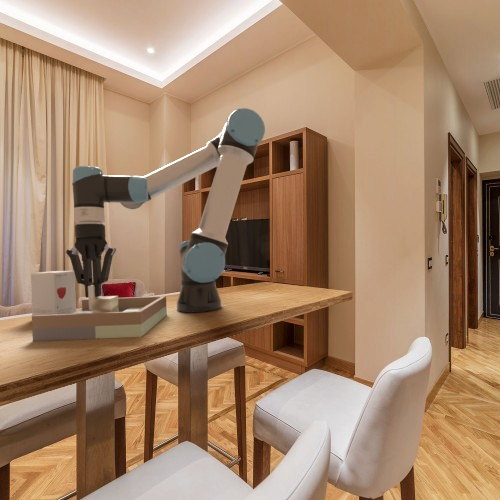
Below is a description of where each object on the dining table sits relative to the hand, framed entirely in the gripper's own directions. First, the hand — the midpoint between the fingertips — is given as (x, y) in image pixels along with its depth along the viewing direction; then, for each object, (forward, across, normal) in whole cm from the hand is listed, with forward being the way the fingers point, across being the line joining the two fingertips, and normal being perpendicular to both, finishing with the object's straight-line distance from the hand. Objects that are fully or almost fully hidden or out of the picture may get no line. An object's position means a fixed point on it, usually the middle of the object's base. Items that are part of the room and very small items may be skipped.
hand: (94, 308), depth 87 cm
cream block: (+2, +3, 0) cm, 4 cm away
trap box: (+5, +4, 0) cm, 6 cm away
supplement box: (+5, -20, +15) cm, 26 cm away
